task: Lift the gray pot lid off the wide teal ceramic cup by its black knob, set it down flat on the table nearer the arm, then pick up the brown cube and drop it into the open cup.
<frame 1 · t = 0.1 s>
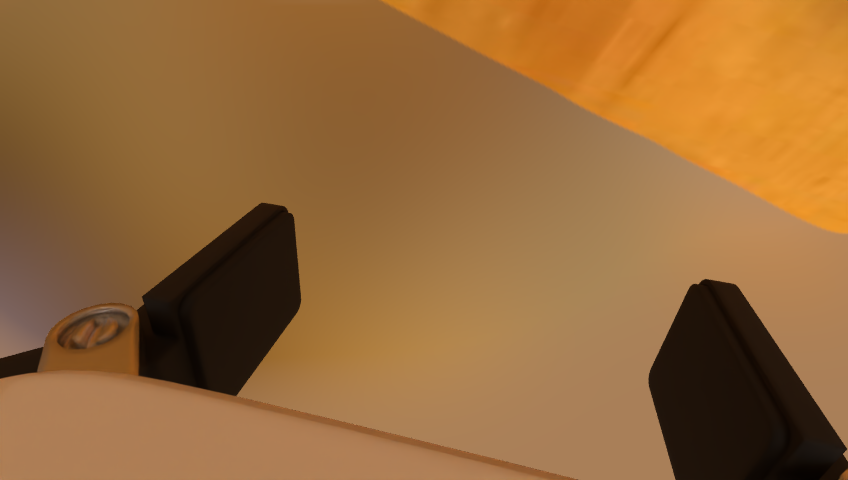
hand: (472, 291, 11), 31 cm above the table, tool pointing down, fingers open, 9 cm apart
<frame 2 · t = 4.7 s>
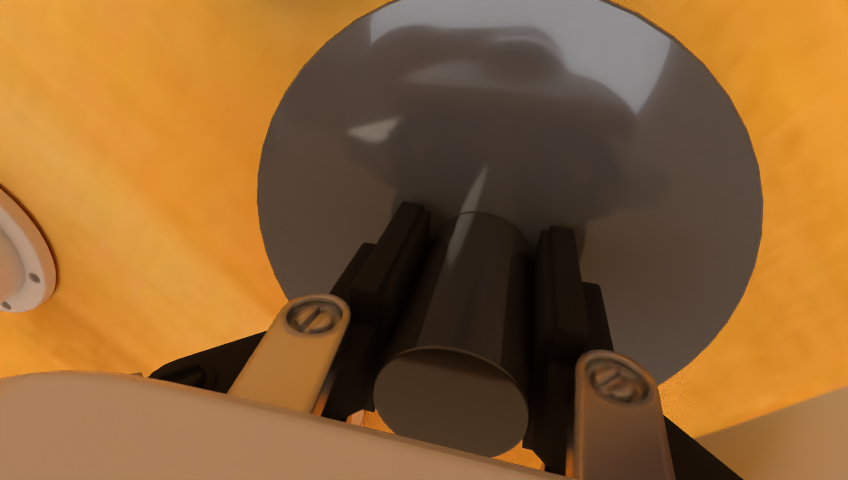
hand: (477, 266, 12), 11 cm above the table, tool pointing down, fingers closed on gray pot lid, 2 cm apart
gray pot lid: (481, 247, 12), point 10 cm above the table, touching cup, gripper
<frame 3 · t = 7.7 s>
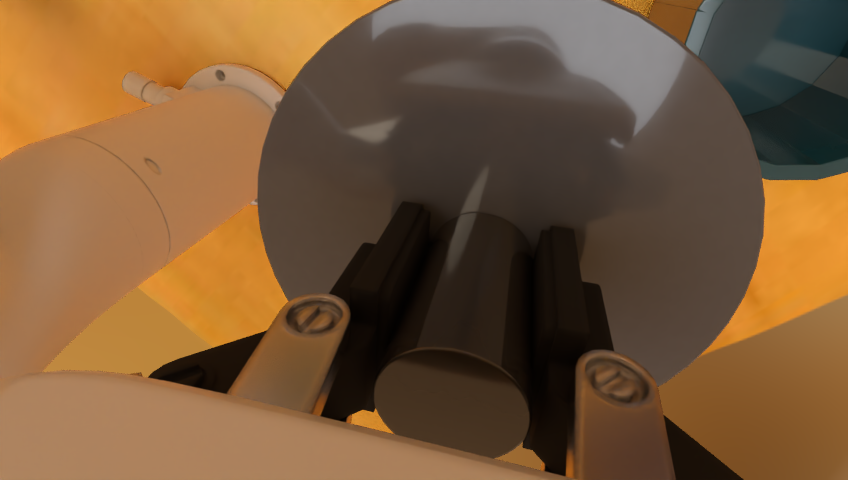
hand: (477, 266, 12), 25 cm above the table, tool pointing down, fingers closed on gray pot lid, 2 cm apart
cup: (748, 29, 28), on the table
gray pot lid: (482, 247, 12), point 24 cm above the table, touching gripper
when the fingers open (2 cm above the table, at t = 11.2 s): gray pot lid stays where it is, point 1 cm above the table.
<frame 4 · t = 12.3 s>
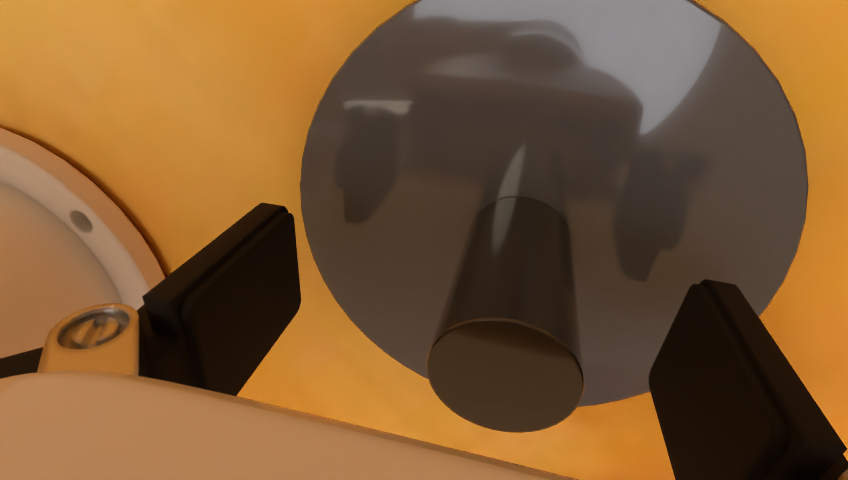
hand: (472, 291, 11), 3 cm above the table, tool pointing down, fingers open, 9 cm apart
gray pot lid: (519, 232, 13), point 1 cm above the table
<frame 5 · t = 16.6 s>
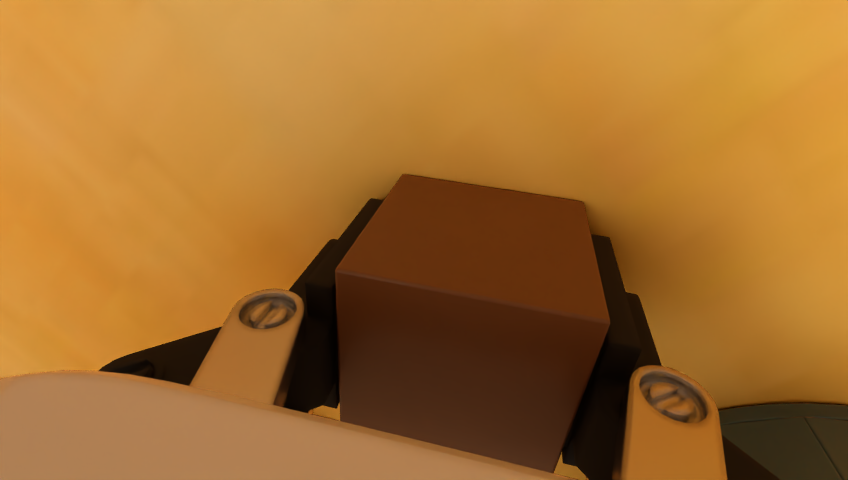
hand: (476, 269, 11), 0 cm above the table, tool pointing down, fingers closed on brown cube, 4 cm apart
brown cube: (478, 262, 12), on the table, touching gripper
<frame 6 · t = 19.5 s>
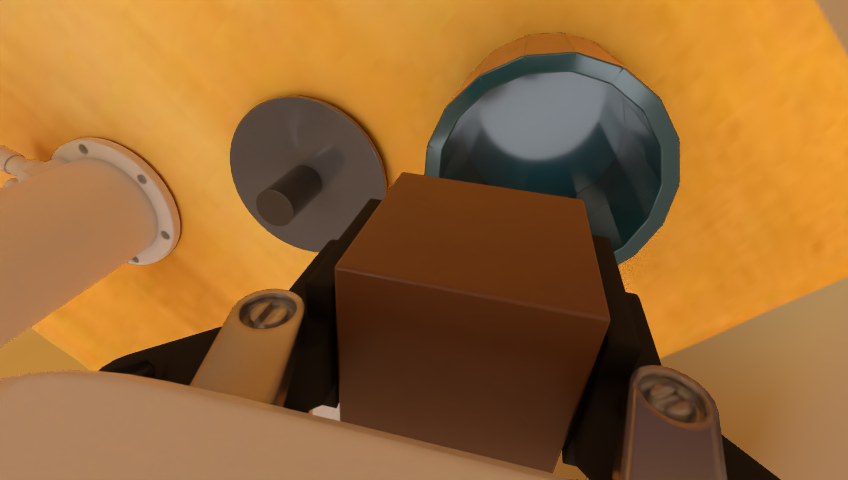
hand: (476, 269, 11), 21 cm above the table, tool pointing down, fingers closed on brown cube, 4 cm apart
cup: (540, 129, 30), on the table
brown cube: (478, 260, 12), point 21 cm above the table, touching gripper
white cup: (386, 334, 43), on the table
gray pot lid: (309, 179, 35), point 1 cm above the table
when the fingers open (9 cm above the table, at t = 22.8 s): brown cube drops 8 cm, resting on cup.
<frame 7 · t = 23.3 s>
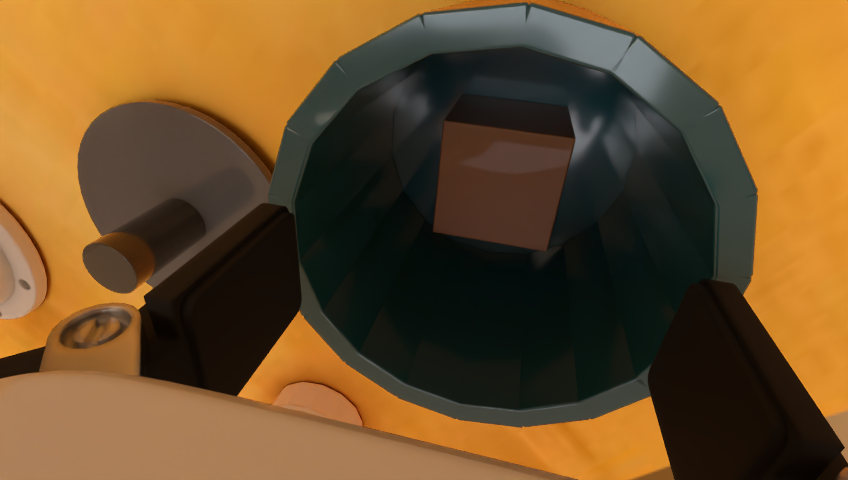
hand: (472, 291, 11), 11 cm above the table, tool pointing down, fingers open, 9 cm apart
cup: (507, 147, 20), on the table
brown cube: (505, 150, 19), point 1 cm above the table, touching cup
white cup: (321, 411, 33), on the table
gray pot lid: (190, 216, 25), point 1 cm above the table
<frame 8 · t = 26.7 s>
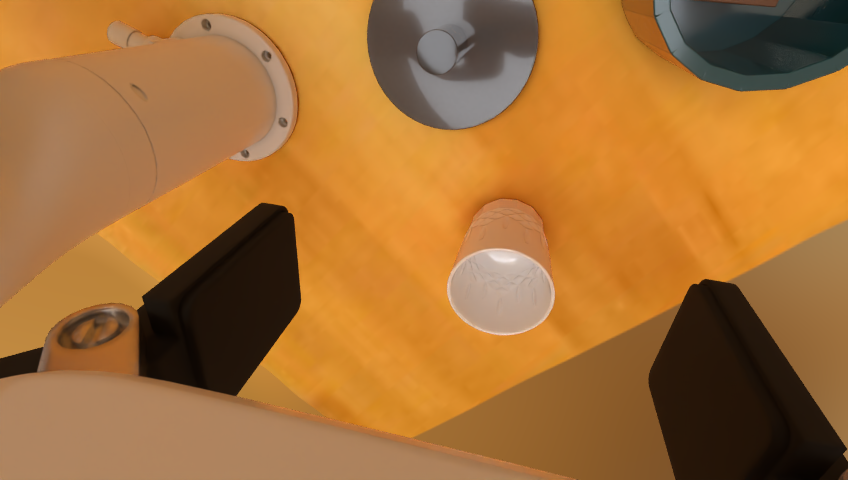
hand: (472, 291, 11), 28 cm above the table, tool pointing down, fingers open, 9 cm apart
white cup: (506, 229, 41), on the table
gray pot lid: (450, 43, 34), point 1 cm above the table
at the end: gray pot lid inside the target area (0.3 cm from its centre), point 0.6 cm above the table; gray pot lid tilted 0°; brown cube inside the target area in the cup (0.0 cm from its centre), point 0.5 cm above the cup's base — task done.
